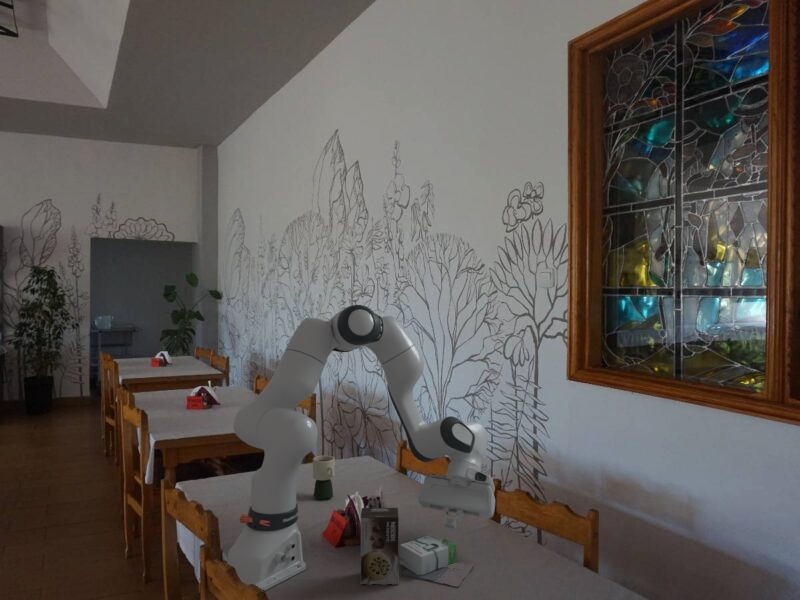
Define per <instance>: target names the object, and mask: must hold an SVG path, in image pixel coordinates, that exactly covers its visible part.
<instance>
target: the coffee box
mask: <svg viewBox="0 0 800 600" xmlns="http://www.w3.org/2000/svg"><path fill="white" fill-rule="evenodd" d="M399 525H400V514H399V508H398V507H362V508H361V511H360V581H359V584H361V586H363V585H362V584H367V585H366V586H373V585H372V584H382V586H383V585H387V584H392V585H399V582H400V580H399V577H400V575H399V572H400V571H399V567H400V566H399V564H400V562H399V556H400V544H399V540H400V539H399V537H400V536H399V535H400V534H399V531H400V530H399V529H400V526H399Z"/></svg>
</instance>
